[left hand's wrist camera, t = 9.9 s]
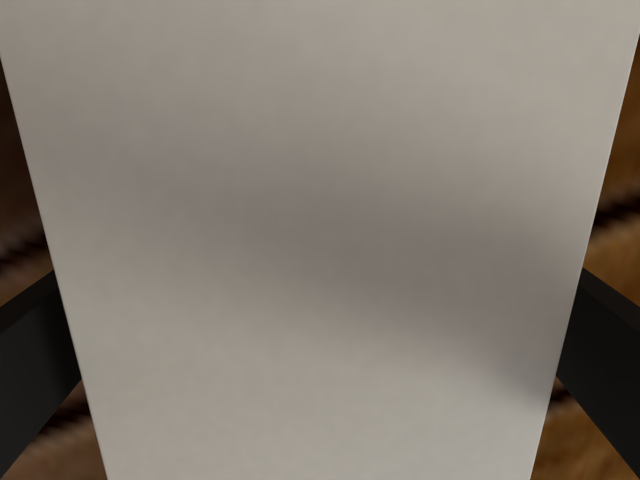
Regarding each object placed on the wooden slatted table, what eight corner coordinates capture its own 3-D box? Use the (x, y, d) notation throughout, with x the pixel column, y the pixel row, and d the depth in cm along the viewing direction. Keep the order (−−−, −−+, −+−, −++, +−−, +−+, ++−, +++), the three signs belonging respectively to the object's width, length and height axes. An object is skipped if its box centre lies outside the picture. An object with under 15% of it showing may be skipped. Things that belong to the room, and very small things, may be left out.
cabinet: (155, -161, 13) (-188, -668, 4) (481, -162, 13) (816, -671, 4) (209, 317, 19) (115, 514, 10) (429, 316, 19) (522, 513, 10)
